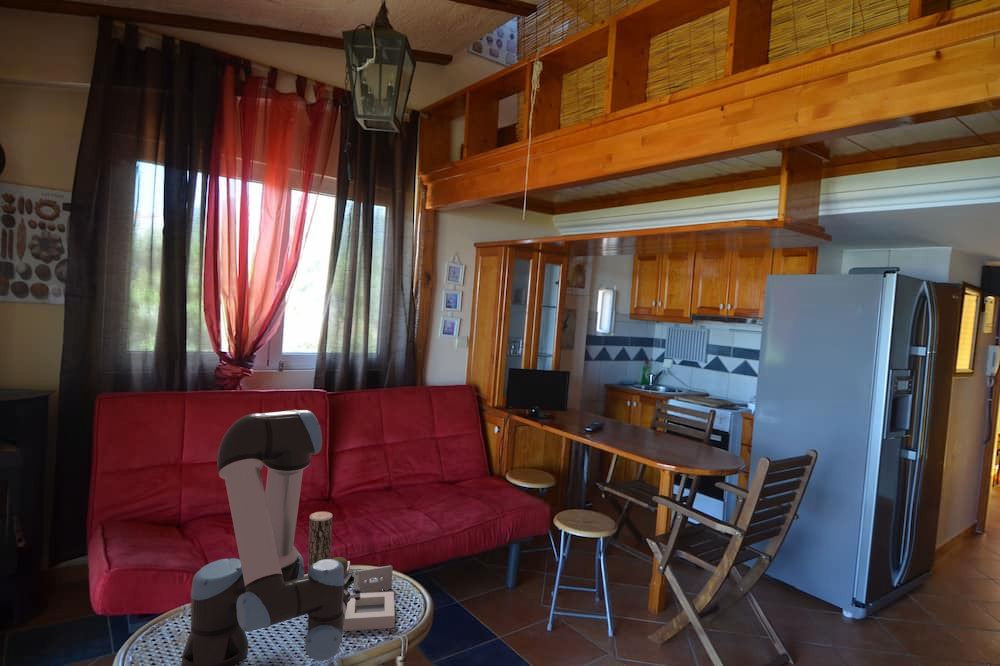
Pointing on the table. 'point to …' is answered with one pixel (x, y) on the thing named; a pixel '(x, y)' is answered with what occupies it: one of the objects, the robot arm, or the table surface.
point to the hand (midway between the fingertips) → (339, 566)
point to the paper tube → (319, 537)
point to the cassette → (375, 584)
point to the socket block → (370, 612)
